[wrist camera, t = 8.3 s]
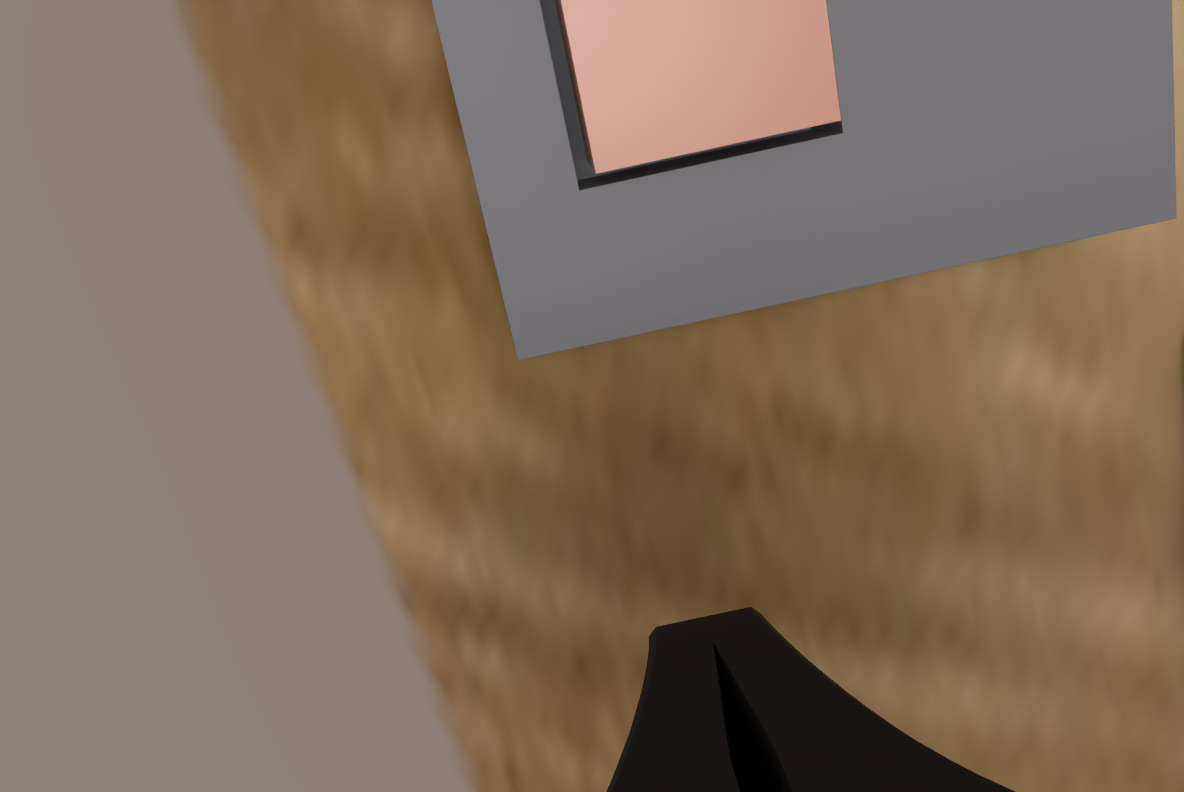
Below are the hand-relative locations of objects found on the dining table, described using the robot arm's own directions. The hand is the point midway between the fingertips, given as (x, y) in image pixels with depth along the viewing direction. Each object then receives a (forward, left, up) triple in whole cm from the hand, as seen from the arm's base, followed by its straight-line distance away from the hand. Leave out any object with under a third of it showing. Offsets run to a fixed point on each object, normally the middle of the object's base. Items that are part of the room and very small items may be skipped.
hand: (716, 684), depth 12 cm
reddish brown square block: (-2, -8, -8) cm, 12 cm away
